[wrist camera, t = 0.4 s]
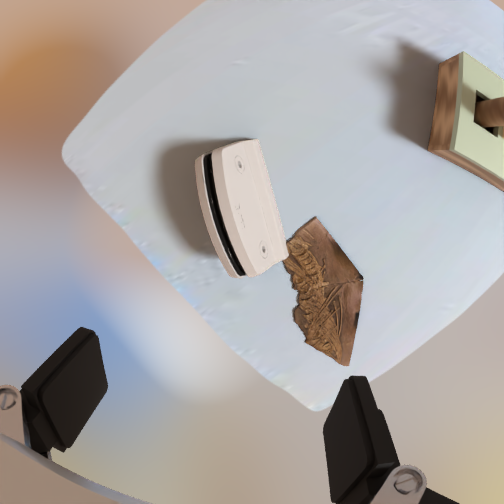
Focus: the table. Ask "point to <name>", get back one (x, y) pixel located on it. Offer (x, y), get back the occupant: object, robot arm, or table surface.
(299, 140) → the table surface
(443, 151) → the box with square hole
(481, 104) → the pin
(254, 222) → the white curved device casing
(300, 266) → the wooden fragment
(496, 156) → the lid
